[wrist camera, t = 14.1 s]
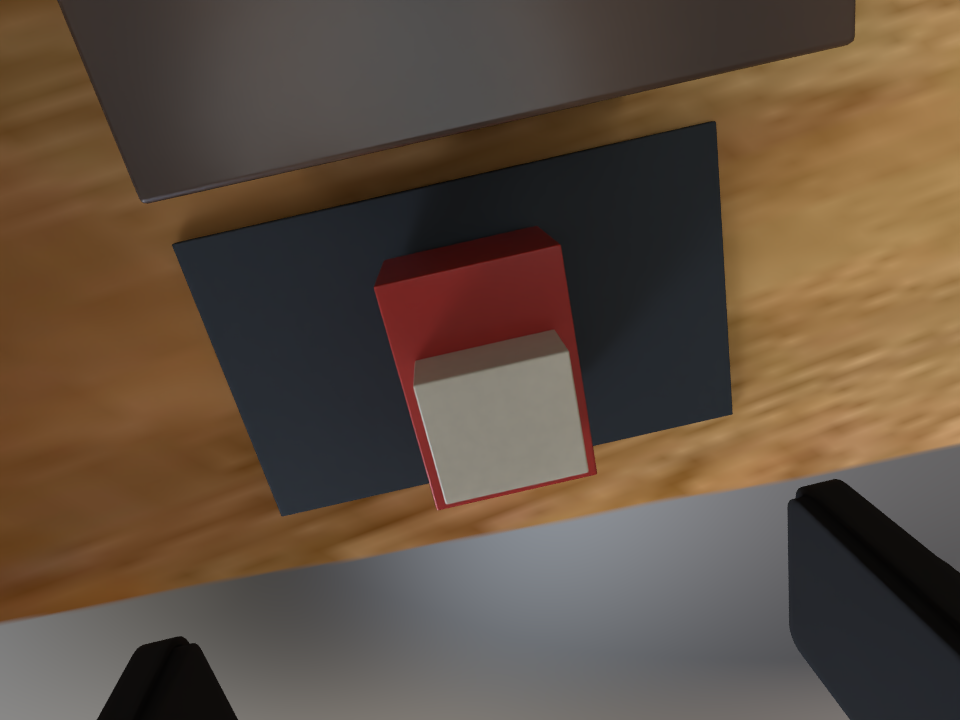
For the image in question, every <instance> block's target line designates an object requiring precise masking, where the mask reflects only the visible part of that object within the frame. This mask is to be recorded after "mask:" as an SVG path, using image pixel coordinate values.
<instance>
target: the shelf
mask: <svg viewBox="0 0 960 720" xmlns="http://www.w3.org/2000/svg"><path fill="white" fill-rule="evenodd" d="M57 1H58V3H59V5H60V8H61V10H62V13H63V15H64V18H65V20H66V22H67V25H68V27H69V30H70V32H71V35H72V37H73V39H74V42H75V44H76V47H77V49H78V51H79V54H80V56H81V59H82V61H83V64H84V66H85V68H86V71H87V73H88V76H89V78H90V81H91V83H92V85H93V88H94V90H95V93H96V95H97V97H98V100H99V102H100V105H101V107H102V110H103V112H104V114H105V117H106V119H107V122H108V124H109V127H110V129H111V131H112V134H113V136H114V139H115V141H116V143H117V146H118V148H119V151H120V153H121V156H122V158H123V160H124V163H125V165H126V168H127V170H128V173H129V175H130V177H131V180H132V182H133V185H134V187H135V189H136V192H137V194H138V197H139V199H140V200H141V201H142V202H143V203H152V202H157V201H161V200H166V199H170V198H174V197H179V196H183V195H188V194H192V193H197V192H201V191H205V190H210V189H214V188H219V187H223V186H228V185H232V184H237V183H241V182H245V181H250V180H254V179H259V178H263V177H268V176H272V175H276V174H281V173H285V172H290V171H294V170H299V169H303V168H307V167H312V166H316V165H321V164H325V163H330V162H334V161H338V160H343V159H347V158H352V157H356V156H360V155H365V154H369V153H374V152H378V151H383V150H387V149H391V148H396V147H400V146H405V145H409V144H413V143H418V142H422V141H427V140H431V139H435V138H440V137H444V136H449V135H453V134H458V133H462V132H466V131H471V130H475V129H480V128H484V127H488V126H493V125H497V124H502V123H506V122H510V121H515V120H519V119H524V118H528V117H533V116H537V115H541V114H546V113H550V112H555V111H559V110H563V109H568V108H572V107H577V106H581V105H585V104H590V103H594V102H599V101H603V100H608V99H612V98H616V97H621V96H625V95H630V94H634V93H638V92H643V91H647V90H652V89H656V88H660V87H665V86H669V85H674V84H678V83H682V82H687V81H691V80H696V79H700V78H704V77H709V76H713V75H718V74H722V73H726V72H731V71H735V70H740V69H744V68H748V67H753V66H757V65H761V64H766V63H770V62H775V61H779V60H783V59H788V58H792V57H797V56H801V55H805V54H810V53H814V52H819V51H823V50H827V49H832V48H836V47H841V46H845V45H848V44H850V43H851V42H852V41H853V40H854V37H855V0H57Z"/></svg>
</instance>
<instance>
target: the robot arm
mask: <svg viewBox="0 0 960 720" xmlns="http://www.w3.org/2000/svg"><path fill="white" fill-rule="evenodd" d="M788 561H789V562H788V569H789V626H790V632H791V635H792V638H793V641H794V643H795V645H796V647H797V648H798V650H799V652H800V653H801V654H802V656H803V657H804V659H805V660H806V661H807V663H808V664H809V665H810V667H811V668H812V669H813V671H814V672H815V673H816V675H817V676H818V677H819V678H820V680H821V681H822V683H823V684H824V685H825V687H826V688H827V689H828V691H829V692H830V693H831V695H832V696H833V697H834V699H835V700H836V701H837V703H838V704H839V706H840V707H841V708H842V710H843V711H844V712H845V713H846V715H847V716H848V717H849V719H850V720H960V573H959V572H958V571H956V570H955V569H954V568H953V567H952V566H950V565H949V564H948V563H946V562H945V561H943V560H942V559H940V558H939V557H937V556H936V555H935V554H933V553H932V552H931V551H929V550H928V549H927V548H926V547H924V546H923V545H922V544H921V543H920V542H918V541H917V540H916V539H915V538H913V537H912V536H911V535H910V534H908V533H907V532H906V531H905V530H903V529H902V528H901V527H900V526H898V525H897V524H896V523H895V522H893V521H892V520H891V519H890V518H888V517H887V516H886V515H885V514H884V513H882V512H881V511H880V510H878V509H877V508H876V507H875V506H874V505H872V504H871V503H870V502H869V501H867V500H866V499H865V498H864V497H862V496H861V495H860V494H859V493H857V492H856V491H855V490H854V489H852V488H851V487H850V486H849V485H847V484H846V483H844V482H843V481H841V480H837V479H833V480H829V481H825V482H820V483H816V484H812V485H808V486H804V487H801V488H799V489H798V490H797V492H796V498H795V499H792V500H790V501H789V503H788ZM97 720H238V719H237V717H236V715H235V713H234V711H233V709H232V708H231V706H230V704H229V702H228V700H227V698H226V696H225V694H224V692H223V690H222V688H221V686H220V685H219V683H218V681H217V679H216V677H215V675H214V673H213V671H212V669H211V668H210V665H209V663H208V662H207V660H206V658H205V656H204V654H203V652H202V650H201V648H200V647H199V646H198V645H197V644H195V643H192V644H189V642H188V641H187V640H186V639H185V638H184V637H182V636H180V637H174V638H170V639H166V640H162V641H157V642H153V643H149V644H145V645H142V646H140V647H139V648H137V650H136V651H135V652H134V654H133V655H132V657H131V659H130V661H129V663H128V664H127V666H126V668H125V670H124V672H123V673H122V675H121V677H120V679H119V681H118V683H117V684H116V686H115V688H114V690H113V692H112V694H111V695H110V697H109V699H108V701H107V702H106V704H105V706H104V708H103V710H102V712H101V713H100V715H99V717H98V719H97Z"/></svg>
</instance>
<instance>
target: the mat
mask: <svg viewBox="0 0 960 720" xmlns="http://www.w3.org/2000/svg"><path fill="white" fill-rule="evenodd" d="M533 226H538V227H539V228H540V229H542V230H543V231H544V232H545V233H547V234H548V235H549V236H550V237H552V238H553V239H554V240H555V241H557V242H558V243H559V244H560V245H561V249H562V255H563V262H564V268H565V274H566V281H567V287H568V293H569V299H570V306H571V312H572V318H573V324H574V331H575V337H576V343H577V350H578V356H579V362H580V368H581V375H582V381H583V387H584V394H585V400H586V406H587V412H588V419H589V425H590V431H591V438H592V444H593V446H595V445H599V444H604V443H608V442H613V441H617V440H621V439H626V438H630V437H635V436H639V435H643V434H648V433H652V432H657V431H661V430H666V429H670V428H674V427H679V426H683V425H688V424H692V423H696V422H701V421H705V420H710V419H714V418H718V417H723V416H727V415H732V414H733V413H732V396H731V378H730V360H729V343H728V325H727V308H726V290H725V273H724V255H723V238H722V220H721V202H720V185H719V167H718V150H717V132H716V122H715V121H711V122H706V123H702V124H698V125H693V126H689V127H684V128H680V129H675V130H671V131H667V132H662V133H658V134H653V135H649V136H645V137H640V138H636V139H631V140H627V141H623V142H618V143H614V144H609V145H605V146H600V147H596V148H592V149H587V150H583V151H578V152H574V153H570V154H565V155H561V156H556V157H552V158H548V159H543V160H539V161H534V162H530V163H525V164H521V165H517V166H512V167H508V168H503V169H499V170H495V171H490V172H486V173H481V174H477V175H473V176H468V177H464V178H459V179H455V180H450V181H446V182H442V183H437V184H433V185H428V186H424V187H420V188H415V189H411V190H406V191H402V192H397V193H393V194H389V195H384V196H380V197H375V198H371V199H367V200H362V201H358V202H353V203H349V204H345V205H340V206H336V207H331V208H327V209H322V210H318V211H314V212H309V213H305V214H300V215H296V216H292V217H287V218H283V219H278V220H274V221H270V222H265V223H261V224H256V225H252V226H247V227H243V228H239V229H234V230H230V231H225V232H221V233H217V234H212V235H208V236H203V237H199V238H195V239H190V240H186V241H181V242H177V243H174V244H172V246H173V249H174V251H175V254H176V256H177V259H178V261H179V264H180V266H181V268H182V271H183V273H184V276H185V278H186V281H187V283H188V286H189V288H190V291H191V293H192V296H193V298H194V301H195V303H196V306H197V308H198V310H199V313H200V315H201V318H202V320H203V323H204V325H205V328H206V330H207V333H208V335H209V338H210V340H211V343H212V345H213V348H214V350H215V353H216V355H217V357H218V360H219V362H220V365H221V367H222V370H223V372H224V375H225V377H226V380H227V382H228V385H229V387H230V390H231V392H232V395H233V397H234V400H235V402H236V404H237V407H238V409H239V412H240V414H241V417H242V419H243V422H244V424H245V427H246V429H247V432H248V434H249V437H250V439H251V442H252V444H253V446H254V449H255V451H256V454H257V456H258V459H259V461H260V464H261V466H262V469H263V471H264V474H265V476H266V479H267V481H268V484H269V486H270V489H271V491H272V493H273V496H274V498H275V501H276V503H277V506H278V508H279V511H280V513H281V516H286V515H291V514H295V513H299V512H304V511H308V510H313V509H317V508H322V507H326V506H330V505H335V504H339V503H344V502H348V501H352V500H357V499H361V498H366V497H370V496H374V495H379V494H383V493H388V492H392V491H396V490H401V489H405V488H410V487H414V486H419V485H423V484H427V483H429V480H428V477H427V473H426V470H425V466H424V463H423V459H422V456H421V452H420V449H419V445H418V441H417V438H416V434H415V431H414V427H413V424H412V420H411V417H410V413H409V410H408V406H407V403H406V399H405V396H404V392H403V389H402V385H401V382H400V378H399V375H398V371H397V368H396V364H395V361H394V357H393V354H392V350H391V347H390V343H389V340H388V336H387V333H386V329H385V326H384V322H383V319H382V315H381V312H380V308H379V305H378V301H377V298H376V294H375V291H374V285H375V282H376V280H377V277H378V275H379V272H380V269H381V267H382V264H383V262H384V260H387V259H391V258H396V257H400V256H405V255H409V254H413V253H418V252H422V251H427V250H431V249H435V248H440V247H444V246H449V245H453V244H458V243H462V242H466V241H471V240H475V239H480V238H484V237H488V236H493V235H497V234H502V233H506V232H510V231H515V230H519V229H524V228H528V227H533Z"/></svg>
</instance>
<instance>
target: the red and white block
mask: <svg viewBox="0 0 960 720" xmlns="http://www.w3.org/2000/svg"><path fill="white" fill-rule="evenodd" d="M374 291H375V294H376V298H377V301H378V305H379V308H380V312H381V315H382V319H383V322H384V326H385V329H386V333H387V336H388V340H389V343H390V347H391V350H392V354H393V357H394V361H395V364H396V368H397V371H398V375H399V378H400V382H401V385H402V389H403V392H404V396H405V399H406V403H407V406H408V410H409V413H410V417H411V420H412V424H413V427H414V431H415V434H416V438H417V441H418V445H419V449H420V452H421V456H422V459H423V463H424V466H425V470H426V473H427V477H428V480H429V484H430V487H431V491H432V494H433V498H434V501H435V505H436V508H437V510H441V509H446V508H450V507H455V506H459V505H463V504H468V503H472V502H477V501H481V500H485V499H490V498H494V497H499V496H503V495H508V494H512V493H516V492H521V491H525V490H530V489H534V488H538V487H543V486H547V485H552V484H556V483H560V482H565V481H569V480H574V479H578V478H582V477H587V476H591V475H596V474H597V469H596V463H595V456H594V450H593V444H592V438H591V431H590V425H589V419H588V412H587V406H586V400H585V394H584V387H583V381H582V375H581V368H580V362H579V356H578V350H577V343H576V337H575V331H574V324H573V318H572V312H571V306H570V299H569V293H568V287H567V281H566V274H565V268H564V262H563V255H562V249H561V245H560V244H559V243H558V242H557V241H555V240H554V239H553V238H552V237H550V236H549V235H548V234H547V233H545V232H544V231H543V230H542V229H540V228H539V227H538V226H533V227H528V228H524V229H519V230H515V231H510V232H506V233H502V234H497V235H493V236H488V237H484V238H480V239H475V240H471V241H466V242H462V243H458V244H453V245H449V246H444V247H440V248H435V249H431V250H427V251H422V252H418V253H413V254H409V255H405V256H400V257H396V258H391V259H387V260H384V262H383V264H382V267H381V269H380V272H379V275H378V277H377V280H376V282H375V285H374Z"/></svg>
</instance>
